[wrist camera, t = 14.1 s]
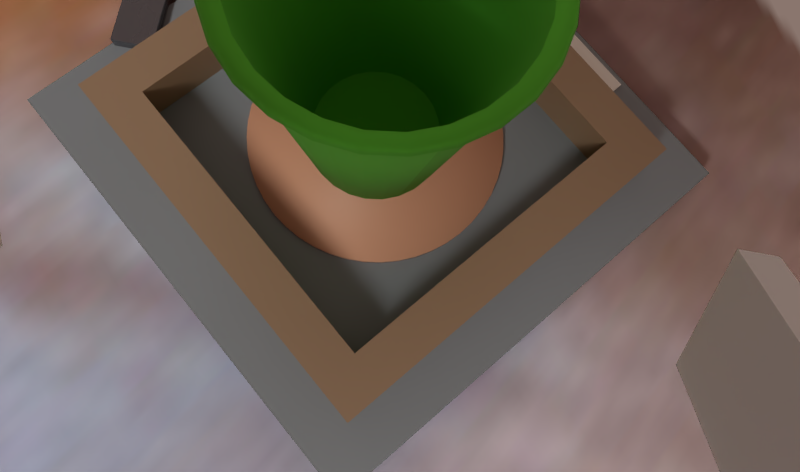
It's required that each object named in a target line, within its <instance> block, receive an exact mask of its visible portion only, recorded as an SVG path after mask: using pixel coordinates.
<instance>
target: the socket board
mask: <svg viewBox="0 0 800 472" xmlns="http://www.w3.org/2000/svg"><path fill="white" fill-rule="evenodd" d="M27 100H28V101H29V103H30V104H31V105H32V106H33V108H34V109H35V110H36V112H37V113H38V114H39V115H40V117H41V118H42V119H43V120H44V122H45V123H46V124H47V126H48V127H49V128H50V129H51V131H52V132H53V133H54V135H55V136H56V137H57V138H58V140H59V141H60V142H61V143H62V145H63V146H64V147H65V149H66V150H67V151H68V152H69V154H70V155H71V156H72V158H73V159H74V160H75V161H76V163H77V164H78V165H79V167H80V168H81V169H82V170H83V172H84V173H85V174H86V175H87V177H88V178H89V179H90V181H91V182H92V183H93V184H94V186H95V187H96V188H97V190H98V191H99V192H100V193H101V195H102V196H103V197H104V198H105V200H106V201H107V202H108V204H109V205H110V206H111V207H112V209H113V210H114V211H115V213H116V214H117V215H118V216H119V218H120V219H121V220H122V222H123V223H124V224H125V225H126V227H127V228H128V229H129V230H130V232H131V233H132V234H133V236H134V237H135V238H136V239H137V241H138V242H139V243H140V245H141V246H142V247H143V248H144V250H145V251H146V252H147V253H148V255H149V256H150V257H151V259H152V260H153V261H154V262H155V264H156V265H157V266H158V268H159V269H160V270H161V271H162V273H163V274H164V275H165V277H166V278H167V279H168V280H169V282H170V283H171V284H172V285H173V287H174V288H175V289H176V291H177V292H178V293H179V294H180V296H181V297H182V298H183V300H184V301H185V302H186V303H187V305H188V306H189V307H190V308H191V310H192V311H193V312H194V314H195V315H196V316H197V317H198V319H199V320H200V321H201V323H202V324H203V325H204V326H205V328H206V329H207V330H208V332H209V333H210V334H211V335H212V337H213V338H214V339H215V340H216V342H217V343H218V344H219V346H220V347H221V348H222V349H223V351H224V352H225V353H226V355H227V356H228V357H229V358H230V360H231V361H232V362H233V363H234V365H235V366H236V367H237V369H238V370H239V371H240V372H241V374H242V375H243V376H244V378H245V379H246V380H247V381H248V383H249V384H250V385H251V387H252V388H253V389H254V390H255V392H256V393H257V394H258V395H259V397H260V398H261V399H262V401H263V402H264V403H265V404H266V406H267V407H268V408H269V410H270V411H271V412H272V413H273V415H274V416H275V417H276V419H277V420H278V421H279V422H280V424H281V425H282V426H283V427H284V429H285V430H286V431H287V433H288V434H289V435H290V436H291V438H292V439H293V440H294V442H295V443H296V444H297V445H298V447H299V448H300V449H301V450H302V452H303V453H304V454H305V456H306V457H307V458H308V459H309V461H310V462H311V463H312V465H313V466H314V467H315V468H316V470H317V471H318V472H372V471H373V470H374V469H375V468H376V467H377V466H379V465H380V464H381V463H382V462H383V461H384V460H385V459H387V458H388V457H389V456H390V455H391V454H392V453H393V452H394V451H396V450H397V449H398V448H399V447H400V446H401V445H402V444H404V443H405V442H406V441H407V440H408V439H409V438H410V437H411V436H413V435H414V434H415V433H416V432H417V431H418V430H419V429H420V428H422V427H423V426H424V425H425V424H426V423H427V422H428V421H430V420H431V419H432V418H433V417H434V416H435V415H436V414H437V413H439V412H440V411H441V410H442V409H443V408H444V407H445V406H446V405H448V404H449V403H450V402H451V401H452V400H453V399H454V398H456V397H457V396H458V395H459V394H460V393H461V392H462V391H463V390H465V389H466V388H467V387H468V386H469V385H470V384H471V383H472V382H474V381H475V380H476V379H477V378H478V377H479V376H480V375H482V374H483V373H484V372H485V371H486V370H487V369H488V368H489V367H491V366H492V365H493V364H494V363H495V362H496V361H497V360H499V359H500V358H501V357H502V356H503V355H504V354H505V353H506V352H508V351H509V350H510V349H511V348H512V347H513V346H514V345H515V344H517V343H518V342H519V341H520V340H521V339H522V338H523V337H525V336H526V335H527V334H528V333H529V332H530V331H531V330H532V329H534V328H535V327H536V326H537V325H538V324H539V323H540V322H541V321H543V320H544V319H545V318H546V317H547V316H548V315H549V314H551V313H552V312H553V311H554V310H555V309H556V308H557V307H558V306H560V305H561V304H562V303H563V302H564V301H565V300H566V299H567V298H569V297H570V296H571V295H572V294H573V293H574V292H575V291H577V290H578V289H579V288H580V287H581V286H582V285H583V284H584V283H586V282H587V281H588V280H589V279H590V278H591V277H592V276H593V275H595V274H596V273H597V272H598V271H599V270H600V269H601V268H603V267H604V266H605V265H606V264H607V263H608V262H609V261H610V260H612V259H613V258H614V257H615V256H616V255H617V254H618V253H620V252H621V251H622V250H623V249H624V248H625V247H626V246H627V245H629V244H630V243H631V242H632V241H633V240H634V239H635V238H636V237H638V236H639V235H640V234H641V233H642V232H643V231H644V230H646V229H647V228H648V227H649V226H650V225H651V224H652V223H653V222H655V221H656V220H657V219H658V218H659V217H660V216H661V215H662V214H664V213H665V212H666V211H667V210H668V209H669V208H670V207H672V206H673V205H674V204H675V203H676V202H677V201H678V200H679V199H681V198H682V197H683V196H684V195H685V194H686V193H687V192H688V191H690V190H691V189H692V188H693V187H694V186H695V185H696V184H698V183H699V182H700V181H701V180H702V179H703V178H704V177H705V176H707V175H708V174H709V172H708V171H707V170H706V169H705V168H704V167H703V166H702V165H701V164H700V163H699V162H698V161H697V159H696V158H695V157H694V156H693V155H692V154H691V153H690V152H689V151H688V150H687V149H686V148H685V147H684V146H683V144H682V143H681V142H680V141H679V140H678V139H677V138H676V137H675V136H674V135H673V134H672V133H671V132H670V131H669V130H668V128H667V127H666V126H665V125H664V124H663V123H662V122H661V121H660V120H659V119H658V118H657V117H656V116H655V115H654V113H653V112H652V111H651V110H650V109H649V108H648V107H647V106H646V105H645V104H644V103H643V102H642V101H641V100H640V98H639V97H638V96H637V95H636V94H635V93H634V92H633V91H632V90H631V89H630V88H629V87H628V86H627V85H626V84H625V82H624V81H623V80H622V79H621V78H620V77H619V76H618V75H617V74H616V73H615V72H614V71H613V70H612V69H611V67H610V66H609V65H608V64H607V63H606V62H605V61H604V60H603V59H602V58H601V57H600V56H599V55H598V54H597V53H596V51H595V50H594V49H593V48H592V47H591V46H590V45H589V44H588V43H587V42H586V41H585V40H584V39H583V38H582V36H581V35H580V34H579V33H578V32H577V31H576V32H575V34H574V37H573V40H572V42H571V45H570V47H569V50H568V53H567V55H566V58H565V60H564V63H563V65H562V67H561V68H560V69H559V71H558V72H557V73H556V75H555V76H554V77H553V79H552V80H551V81H550V83H549V84H548V86H547V87H546V88H545V90H544V91H543V92H542V94H541V95H540V96H539V98H538V99H537V100H536V101H535V102H534V103H532V104H531V105H530V106H529V107H527V108H526V109H525V110H524V111H522V112H521V113H520V114H519V115H517V116H516V117H515V118H514V119H512V120H511V121H510V122H509V123H507V124H506V125H505V126H504V127H502V128H501V129H499V130H496V131H494V132H492V133H490V134H487V135H485V136H483V137H481V138H479V139H476V140H474V141H472V142H470V143H468V144H465V145H464V146H463V147H462V148H461V149H460V150H459V151H458V152H456V153H455V154H454V155H453V156H452V157H451V158H450V159H449V160H447V161H446V162H445V163H444V164H443V165H442V166H441V167H440V168H439V169H437V170H436V171H435V172H434V173H433V174H432V175H431V176H430V177H428V178H427V179H426V180H425V181H424V182H422V183H421V184H420V185H419V186H417V187H416V188H415V189H413V190H411V191H409V192H407V193H405V194H402V195H400V196H397V197H392V198H387V199H364V198H361V197H357V196H354V195H350V194H348V193H346V192H344V191H342V190H341V189H339V188H337V187H335V186H334V185H333V184H331V183H330V182H329V181H328V180H327V179H326V178H325V177H324V176H323V175H322V174H321V173H320V172H319V170H318V169H317V168H316V166H315V165H314V164H313V163H312V161H311V160H310V159H309V157H308V156H307V155H306V154H305V152H304V151H303V150H302V148H301V147H300V146H299V145H298V143H297V142H296V141H295V139H294V138H293V137H292V136H291V134H290V133H289V132H288V130H287V129H286V128H285V127H284V125H282V124H281V123H279V122H277V121H275V120H273V119H272V118H270V117H268V116H267V115H266V114H265V113H264V112H263V111H262V110H261V109H259V108H258V107H257V106H256V105H255V104H254V103H253V102H252V101H251V100H250V99H249V98H248V97H247V96H245V95H244V94H243V93H242V92H241V91H240V90H239V89H238V88H237V87H236V86H235V85H234V84H233V83H232V82H231V80H230V79H229V77H228V76H227V74H226V72H225V71H224V69H223V68H222V66H221V65H220V63H219V62H218V60H217V58H216V57H215V55H214V54H213V52H212V51H211V49H210V48H209V46H208V44H207V41H206V38H205V35H204V32H203V28H202V25H201V22H200V19H199V16H198V13H197V10H196V6H195V3H194V0H177V1H175V2H174V3H172V4H171V5H169V7H168V10H167V14H166V17H165V21H164V24H163V28H162V29H160V30H159V31H157V32H156V33H154V34H153V35H151V36H150V37H148V38H147V39H145V40H144V41H142V42H141V43H139V44H138V45H136V46H135V47H133V48H132V49H131V48H126V47H121V46H115V45H114V43H112V44H110V45H109V46H107V47H106V48H104V49H103V50H101V51H100V52H98V53H97V54H95V55H94V56H92V57H91V58H89V59H88V60H86V61H85V62H83V63H82V64H80V65H79V66H77V67H76V68H74V69H73V70H71V71H70V72H68V73H67V74H65V75H64V76H62V77H61V78H59V79H58V80H56V81H55V82H53V83H52V84H50V85H49V86H47V87H46V88H44V89H43V90H41V91H40V92H38V93H37V94H35V95H34V96H32V97H30V98H29V99H27Z"/></svg>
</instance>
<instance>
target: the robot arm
mask: <svg viewBox="0 0 800 472" xmlns="http://www.w3.org/2000/svg"><path fill="white" fill-rule="evenodd" d="M1 246H2V240H1V234H0V247H1ZM676 366H677V368H678V371H679V373H680V375H681V378H682V380H683V383H684V385H685V388H686V390H687V393H688V395H689V397H690V400H691V402H692V405H693V407H694V410H695V412H696V415H697V417H698V419H699V422H700V424H701V427H702V429H703V432H704V434H705V436H706V439H707V441H708V444H709V446H710V449H711V451H712V454H713V456H714V458H715V461H716V463H717V466H718V468H719V471H720V472H800V283H799V281H798V280H797V279H796V277H795V276H794V275H793V273H792V272H791V271H790V269H789V268H788V267H787V265H786V264H785V263H784V261H783V260H782V258H781V257H780V256H774V255H769V254H763V253H758V252H752V251H747V250H741V249H737V251H736V253H735V254H734V256H733V258H732V260H731V262H730V264H729V266H728V268H727V270H726V271H725V273H724V275H723V277H722V279H721V281H720V283H719V285H718V286H717V288H716V290H715V292H714V294H713V296H712V298H711V300H710V302H709V303H708V305H707V307H706V309H705V311H704V313H703V315H702V317H701V319H700V320H699V322H698V324H697V326H696V328H695V330H694V332H693V334H692V335H691V337H690V339H689V341H688V343H687V345H686V347H685V349H684V351H683V352H682V354H681V356H680V358H679V360H678V362H677V364H676Z"/></svg>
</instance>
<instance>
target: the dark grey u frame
mask: <svg viewBox="0 0 800 472" xmlns="http://www.w3.org/2000/svg"><path fill="white" fill-rule="evenodd" d="M175 1H177V0H122V3H121V6H120V9H119V12H118V16H117V19H116V22H115V26H114V29H113V32H112V36H111V41H112V42H113V43H114V45H115V46H121V47H126V48H131V49H132V48H133V47H135V46H136V45H138V44H139V43H141V42H142V41H144V40H145V39H147V38H148V37H150V36H151V35H153V34H154V33H156V32H157V31H159V30H160V29H162V28H163V24H164V21H165V17H166V14H167V10H168V7H169V5H171V4H172V3H174V2H175Z"/></svg>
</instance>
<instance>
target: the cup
mask: <svg viewBox="0 0 800 472" xmlns="http://www.w3.org/2000/svg"><path fill="white" fill-rule="evenodd" d="M194 3H195V6H196V10H197V13H198V16H199V19H200V22H201V25H202V28H203V32H204V35H205V38H206V41H207V44H208V46H209V48H210V49H211V51H212V52H213V54H214V55H215V57H216V58H217V60H218V62H219V63H220V65H221V66H222V68H223V69H224V71H225V72H226V74H227V76H228V77H229V79H230V80H231V82H232V83H233V84H234V85H235V86H236V87H237V88H238V89H239V90H240V91H241V92H242V93H243V94H244V95H245V96H247V97H248V98H249V99H250V100H251V101H252V102H253V103H254V104H255V105H256V106H257V107H258V108H259V109H261V110H262V111H263V112H264V113H265V114H266V115H267V116H268V117H270V118H272V119H273V120H275V121H277V122H279V123H281V124H282V125H284V127H285V128H286V129H287V130H288V132H289V133H290V134H291V136H292V137H293V138H294V139H295V141H296V142H297V143H298V145H299V146H300V147H301V148H302V150H303V151H304V152H305V154H306V155H307V156H308V157H309V159H310V160H311V161H312V163H313V164H314V165H315V166H316V168H317V169H318V170H319V172H320V173H321V174H322V175H323V176H324V177H325V178H326V179H327V180H328V181H329V182H330V183H331V184H333V185H334V186H335V187H337V188H339V189H341V190H342V191H344V192H346V193H348V194H350V195H354V196H357V197H361V198H364V199H387V198H392V197H397V196H400V195H402V194H405V193H407V192H409V191H411V190H413V189H415V188H416V187H417V186H419V185H420V184H421V183H422V182H424V181H425V180H426V179H427V178H428V177H430V176H431V175H432V174H433V173H434V172H435V171H436V170H437V169H439V168H440V167H441V166H442V165H443V164H444V163H445V162H446V161H447V160H449V159H450V158H451V157H452V156H453V155H454V154H455V153H456V152H458V151H459V150H460V149H461V148H462V147H463V146H464V145H465V144H468V143H470V142H472V141H474V140H476V139H479V138H481V137H483V136H485V135H487V134H490V133H492V132H494V131H496V130H499V129H501V128H502V127H504V126H505V125H506V124H507V123H509V122H510V121H511V120H512V119H514V118H515V117H516V116H517V115H519V114H520V113H521V112H522V111H524V110H525V109H526V108H527V107H529V106H530V105H531V104H532V103H534V102H535V101H536V100H537V99H538V98H539V96H540V95H541V94H542V92H543V91H544V90H545V88H546V87H547V86H548V84H549V83H550V81H551V80H552V79H553V77H554V76H555V75H556V73H557V72H558V71H559V69H560V68H561V67H562V65H563V63H564V60H565V58H566V55H567V53H568V50H569V47H570V45H571V42H572V40H573V37H574V34H575V32H576V29H577V27H578V20H579V9H580V0H194Z"/></svg>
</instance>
